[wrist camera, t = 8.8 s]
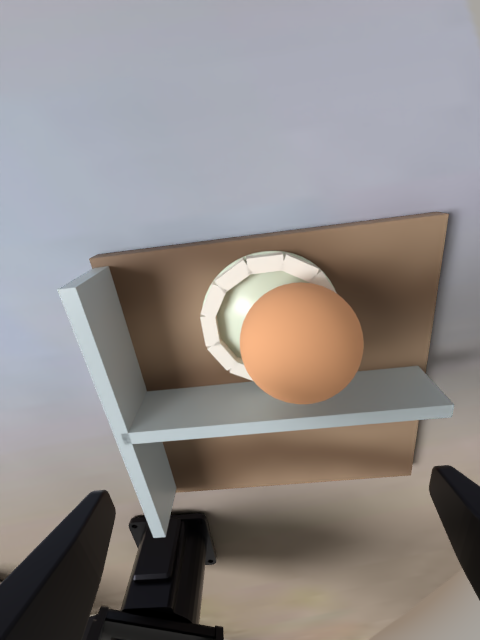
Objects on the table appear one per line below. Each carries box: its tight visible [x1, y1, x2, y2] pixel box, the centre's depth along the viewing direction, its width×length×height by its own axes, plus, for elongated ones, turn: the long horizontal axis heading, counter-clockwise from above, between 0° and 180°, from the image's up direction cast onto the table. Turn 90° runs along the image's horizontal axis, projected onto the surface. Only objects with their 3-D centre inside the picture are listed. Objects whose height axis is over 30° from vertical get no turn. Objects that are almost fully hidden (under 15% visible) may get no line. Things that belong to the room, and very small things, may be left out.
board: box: [57, 212, 454, 538], centre depth 18 cm, size 18×18×4 cm
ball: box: [240, 282, 364, 404], centre depth 14 cm, size 6×6×6 cm
